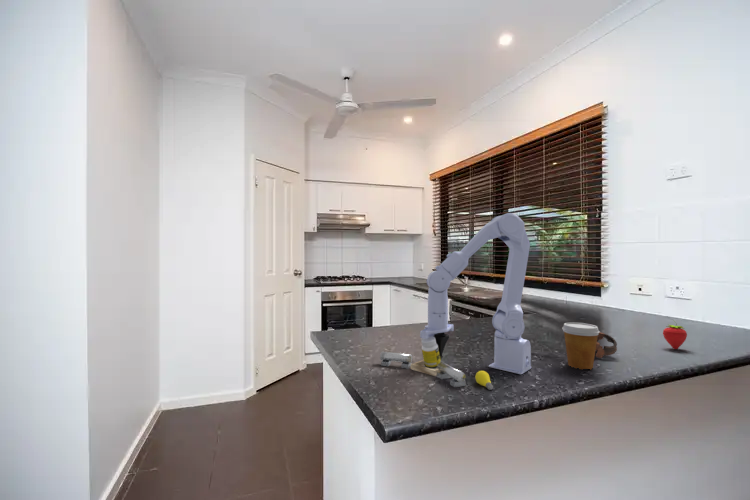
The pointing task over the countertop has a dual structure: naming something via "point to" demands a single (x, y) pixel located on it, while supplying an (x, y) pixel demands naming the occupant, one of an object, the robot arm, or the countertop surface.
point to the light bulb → (484, 379)
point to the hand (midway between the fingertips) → (437, 359)
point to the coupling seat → (423, 368)
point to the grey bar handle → (396, 359)
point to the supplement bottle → (430, 352)
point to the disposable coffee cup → (580, 344)
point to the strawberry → (675, 335)
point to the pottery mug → (607, 349)
